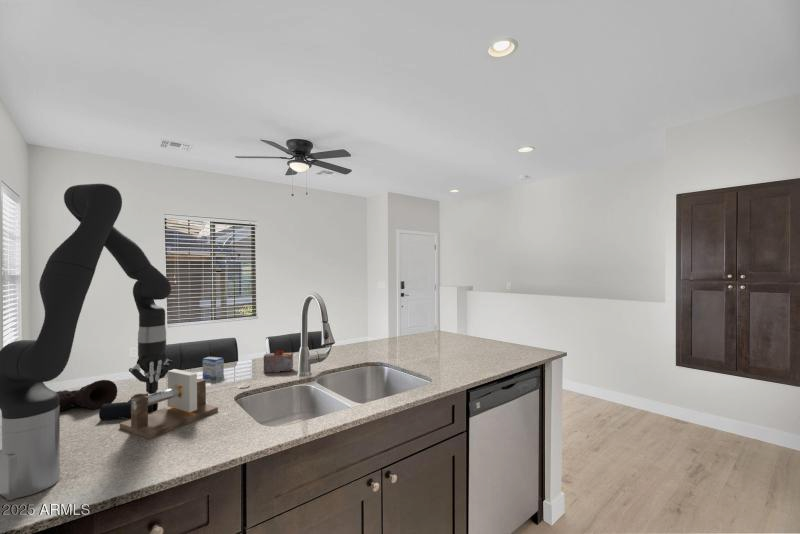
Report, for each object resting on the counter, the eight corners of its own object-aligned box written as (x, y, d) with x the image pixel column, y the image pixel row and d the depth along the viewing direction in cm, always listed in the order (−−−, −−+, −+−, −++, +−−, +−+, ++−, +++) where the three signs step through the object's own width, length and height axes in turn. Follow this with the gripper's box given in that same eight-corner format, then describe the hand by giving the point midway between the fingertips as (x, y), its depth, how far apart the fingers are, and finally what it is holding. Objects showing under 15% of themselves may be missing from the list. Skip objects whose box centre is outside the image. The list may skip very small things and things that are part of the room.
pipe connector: (117, 393, 127) (165, 390, 131) (117, 408, 128) (165, 404, 131) (98, 406, 116) (151, 402, 120) (99, 423, 116) (151, 418, 120)
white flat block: (189, 412, 117) (189, 375, 117) (167, 406, 123) (167, 370, 123) (197, 409, 119) (196, 373, 119) (174, 403, 125) (174, 369, 125)
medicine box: (202, 377, 162) (202, 358, 162) (210, 374, 166) (210, 356, 166) (216, 379, 160) (216, 359, 160) (224, 376, 164) (223, 357, 164)
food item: (294, 367, 177) (294, 347, 177) (292, 372, 170) (292, 351, 170) (264, 369, 175) (264, 349, 175) (262, 374, 167) (262, 353, 167)
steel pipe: (137, 411, 107) (137, 400, 107) (130, 409, 109) (130, 398, 109) (205, 388, 127) (205, 379, 127) (199, 387, 128) (199, 378, 128)
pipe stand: (149, 438, 104) (149, 404, 104) (119, 428, 112) (119, 395, 112) (217, 411, 124) (217, 382, 124) (188, 403, 131) (188, 376, 131)
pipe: (41, 390, 125) (68, 387, 120) (91, 379, 139) (117, 376, 134) (42, 419, 124) (69, 417, 119) (92, 405, 138) (118, 403, 133)
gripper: (136, 344, 109) (135, 401, 109) (179, 337, 121) (179, 388, 120) (122, 342, 112) (122, 397, 112) (166, 335, 124) (166, 385, 124)
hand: (152, 393), depth 116 cm, fingers closed
